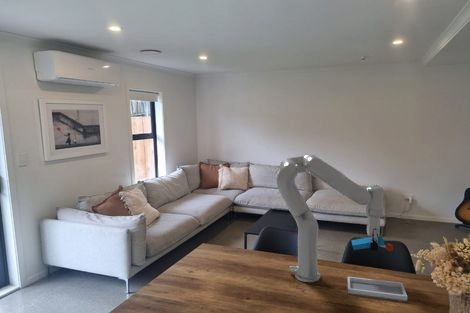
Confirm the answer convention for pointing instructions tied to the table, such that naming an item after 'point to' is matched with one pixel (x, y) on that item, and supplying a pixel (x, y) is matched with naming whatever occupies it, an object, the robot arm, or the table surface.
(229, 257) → the table surface
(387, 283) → the tray
